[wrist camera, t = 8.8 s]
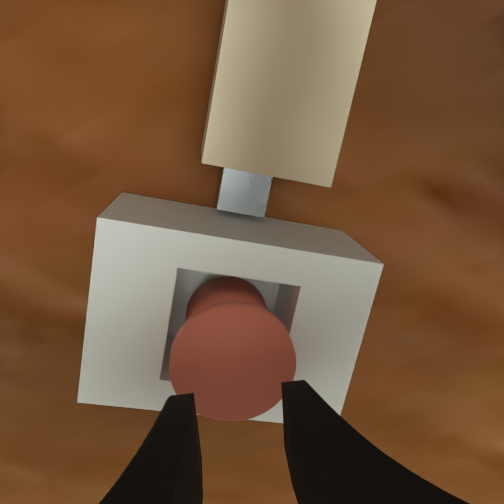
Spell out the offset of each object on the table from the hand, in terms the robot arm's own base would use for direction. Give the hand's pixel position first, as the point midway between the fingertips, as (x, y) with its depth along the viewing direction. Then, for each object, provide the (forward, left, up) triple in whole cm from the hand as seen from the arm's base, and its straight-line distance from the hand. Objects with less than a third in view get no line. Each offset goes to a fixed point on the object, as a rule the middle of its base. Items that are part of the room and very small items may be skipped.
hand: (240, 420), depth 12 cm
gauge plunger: (0, 0, -7) cm, 7 cm away
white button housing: (0, 0, -10) cm, 10 cm away
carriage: (0, -9, -10) cm, 13 cm away
